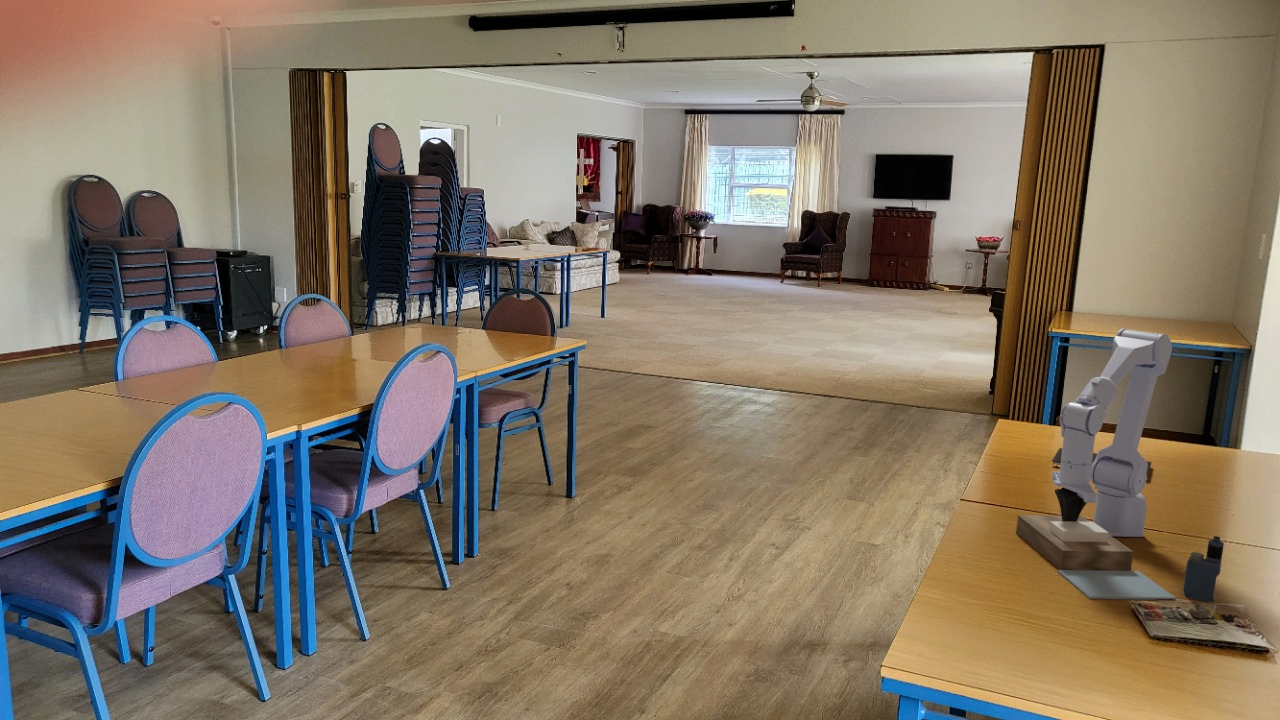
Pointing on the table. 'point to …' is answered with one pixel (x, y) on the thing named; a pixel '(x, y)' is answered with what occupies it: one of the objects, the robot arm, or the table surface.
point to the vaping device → (1203, 572)
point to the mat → (1115, 584)
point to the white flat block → (1078, 531)
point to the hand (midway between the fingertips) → (1068, 524)
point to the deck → (1073, 547)
